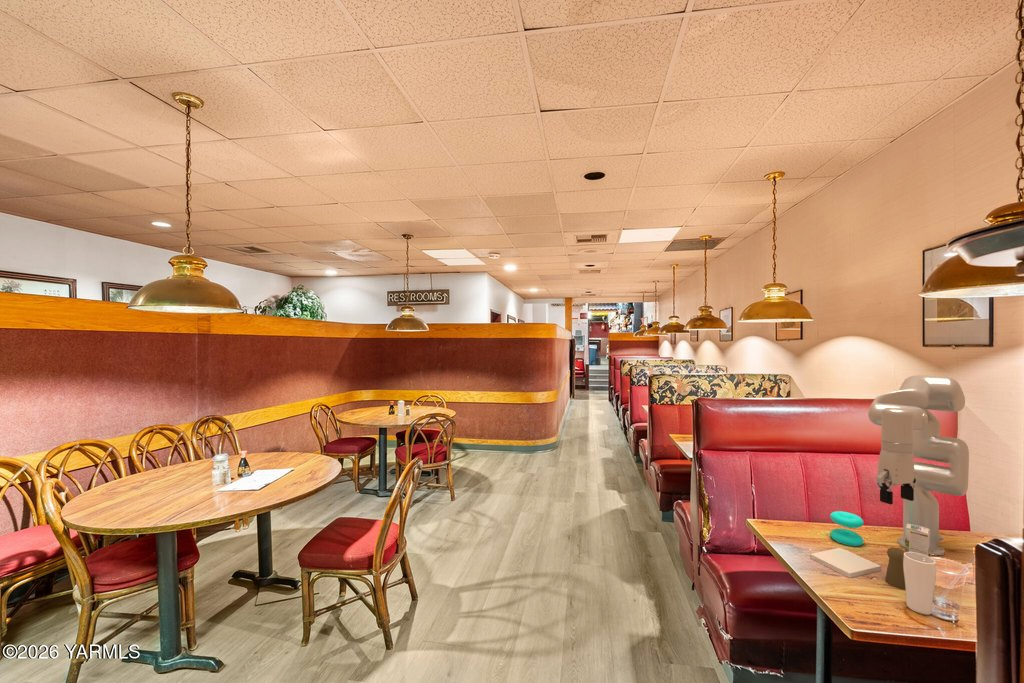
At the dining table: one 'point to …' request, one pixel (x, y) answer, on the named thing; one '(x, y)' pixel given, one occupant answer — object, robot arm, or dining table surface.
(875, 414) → the robot arm
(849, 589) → the dining table surface
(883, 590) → the dining table surface
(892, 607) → the dining table surface
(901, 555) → the cork
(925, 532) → the syrup box
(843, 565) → the ceramic tile
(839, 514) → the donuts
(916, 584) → the white tall cup
